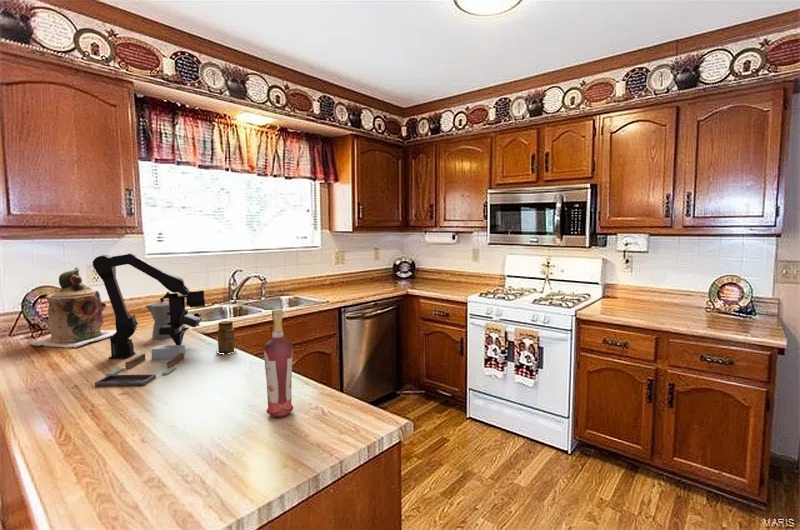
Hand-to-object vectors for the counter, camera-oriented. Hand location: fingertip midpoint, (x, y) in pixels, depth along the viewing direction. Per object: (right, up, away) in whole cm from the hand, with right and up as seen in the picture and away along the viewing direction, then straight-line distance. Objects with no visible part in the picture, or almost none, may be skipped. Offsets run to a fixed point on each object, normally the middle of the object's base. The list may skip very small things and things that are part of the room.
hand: (179, 346), depth 168 cm
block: (0, -3, -8) cm, 9 cm away
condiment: (+20, -2, -2) cm, 20 cm away
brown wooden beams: (+1, -3, -17) cm, 17 cm away
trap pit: (+1, -5, -35) cm, 35 cm away
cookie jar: (-54, 0, +16) cm, 56 cm away
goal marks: (+1, -4, -26) cm, 26 cm away
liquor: (+58, -7, -58) cm, 82 cm away
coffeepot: (-17, 0, +21) cm, 27 cm away
